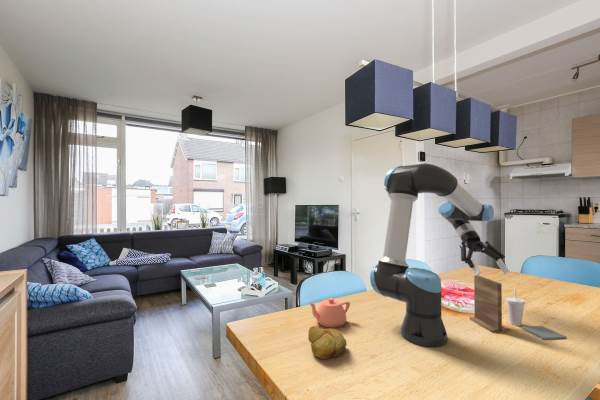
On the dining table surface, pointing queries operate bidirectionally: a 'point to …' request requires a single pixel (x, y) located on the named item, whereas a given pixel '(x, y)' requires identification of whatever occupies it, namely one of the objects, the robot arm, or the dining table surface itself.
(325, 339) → the bread roll
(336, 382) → the dining table surface
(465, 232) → the robot arm
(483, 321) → the screen
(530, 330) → the coaster
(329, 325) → the teapot
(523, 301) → the smoothie
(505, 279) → the dining table surface
